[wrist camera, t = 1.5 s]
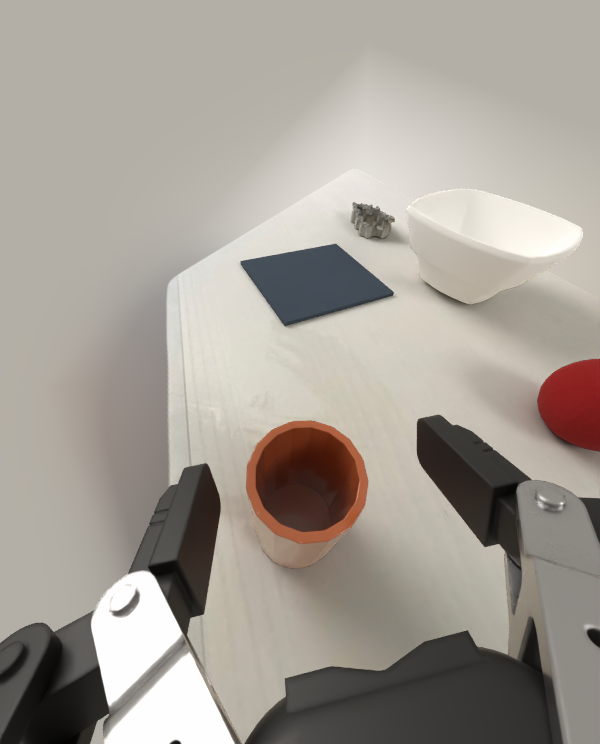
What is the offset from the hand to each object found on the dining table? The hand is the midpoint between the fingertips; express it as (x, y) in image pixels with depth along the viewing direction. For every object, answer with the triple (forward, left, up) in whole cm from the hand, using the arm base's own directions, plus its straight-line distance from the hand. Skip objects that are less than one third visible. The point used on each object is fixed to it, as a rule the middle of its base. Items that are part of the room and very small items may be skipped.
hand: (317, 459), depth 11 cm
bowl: (+44, +22, -16) cm, 52 cm away
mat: (+21, +33, -16) cm, 42 cm away
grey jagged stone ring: (+43, +47, -16) cm, 66 cm away
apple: (+33, -4, -16) cm, 37 cm away
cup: (+1, +1, -16) cm, 16 cm away
